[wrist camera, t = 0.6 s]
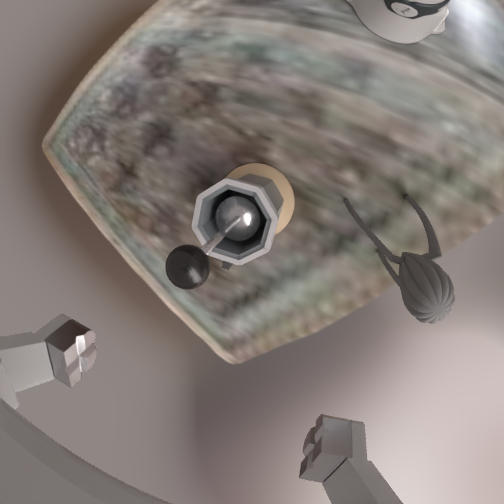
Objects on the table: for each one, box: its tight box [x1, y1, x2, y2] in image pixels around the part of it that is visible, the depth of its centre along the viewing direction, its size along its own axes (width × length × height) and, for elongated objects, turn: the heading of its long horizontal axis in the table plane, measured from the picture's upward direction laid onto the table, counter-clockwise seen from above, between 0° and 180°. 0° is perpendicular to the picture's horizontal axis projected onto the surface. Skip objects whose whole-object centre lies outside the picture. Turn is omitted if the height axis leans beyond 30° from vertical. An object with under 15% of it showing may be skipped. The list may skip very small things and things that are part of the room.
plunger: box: [166, 196, 261, 290], centre depth 32 cm, size 6×6×19 cm
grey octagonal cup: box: [192, 163, 295, 270], centre depth 45 cm, size 14×13×14 cm
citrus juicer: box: [344, 195, 455, 324], centre depth 34 cm, size 11×10×30 cm
